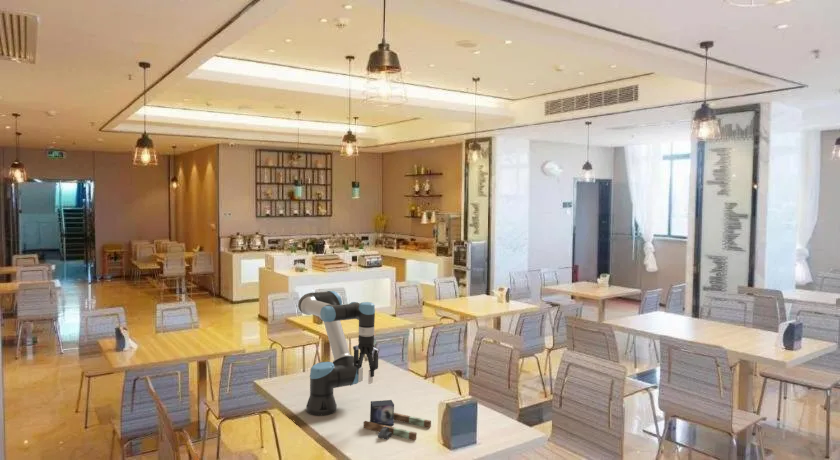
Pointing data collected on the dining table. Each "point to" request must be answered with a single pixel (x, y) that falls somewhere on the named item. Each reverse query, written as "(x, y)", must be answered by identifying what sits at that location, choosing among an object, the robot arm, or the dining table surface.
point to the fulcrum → (385, 433)
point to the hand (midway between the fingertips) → (365, 382)
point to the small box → (382, 412)
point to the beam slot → (400, 431)
